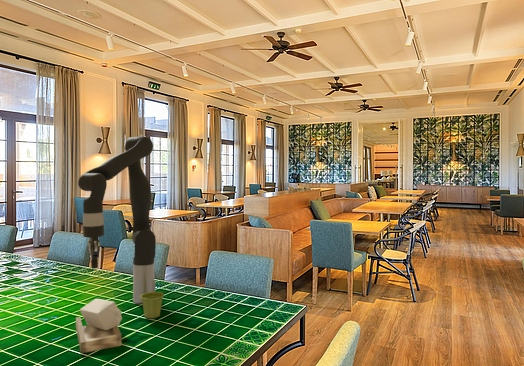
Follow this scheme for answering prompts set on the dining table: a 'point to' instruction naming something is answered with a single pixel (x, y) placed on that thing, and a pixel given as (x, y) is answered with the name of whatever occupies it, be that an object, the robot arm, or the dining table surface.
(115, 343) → the u rest
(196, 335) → the dining table surface
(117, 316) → the milk carton
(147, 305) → the plant pot
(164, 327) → the dining table surface
